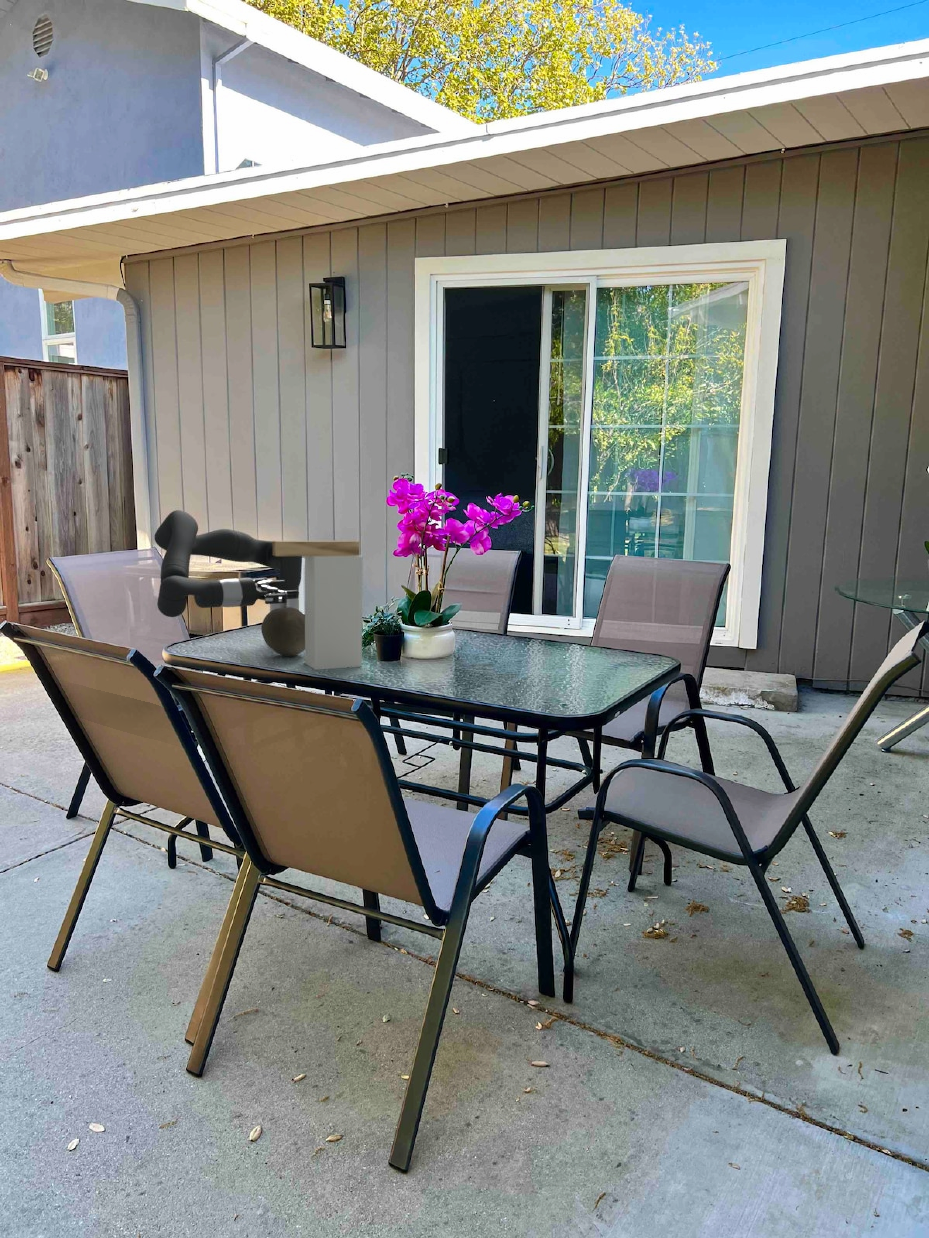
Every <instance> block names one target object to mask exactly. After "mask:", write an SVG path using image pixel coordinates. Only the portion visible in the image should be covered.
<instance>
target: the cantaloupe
mask: <svg viewBox="0 0 929 1238" xmlns="http://www.w3.org/2000/svg"><path fill="white" fill-rule="evenodd" d="M260 627H261V634H262V638H263V641H264V643H266V645H267V646H268V647H269V648H270V649H271V650H272V651H274V652H275V653H277V654H279V655H280V656H284V657H295V656H298V655H300V654H302V653H303V652H305V613H303V612H302V611H301V610H300V609H299V610H298V609H295V608H292V607H288V608H277V609H274V610H272V611H271V612H270V611H269V612H268V613H267V614H266V615H265V616H264V619H263V620H262V623H261V625H260Z"/></svg>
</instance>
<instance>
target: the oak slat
mask: <svg viewBox="0 0 929 1238" xmlns="http://www.w3.org/2000/svg"><path fill="white" fill-rule="evenodd" d="M272 541H273V556H302V557H305V556H350V555H360V540H356V539H355V540H351V539H350V540H272Z"/></svg>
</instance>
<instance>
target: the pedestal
mask: <svg viewBox="0 0 929 1238" xmlns="http://www.w3.org/2000/svg"><path fill="white" fill-rule="evenodd" d="M363 558H364V557H363V555H360V554H359V555H350V556H304V616H305V650H304V663H305V664H306V665H307V666H309V667H310V668H311V669H313V670H314V671H315V670H318V671H319V670H332V669H345V668H346V669H348V668H347V667H349V668H361V667H362V666H363V573H364V572H363V569H364V568H363Z"/></svg>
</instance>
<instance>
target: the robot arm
mask: <svg viewBox="0 0 929 1238" xmlns="http://www.w3.org/2000/svg"><path fill="white" fill-rule="evenodd" d="M155 531H156V532H154V533H155V534H154V536H153V538H154V541H155V543H156V545H157V546H158V547H160V548H161V549H162V550H164V551H165V553H164V555H163V559H162V561H161V567H160V585H159V590H158V598H157V605H156V606H157V610H159V611H160V614H162V616H163V615H164V616H166V617H168V618H175V617H179V616H181V615H182V614H183V613H184V612H185V610H186V608H187V603H188V597H189V596H194V597H193V598H194V602H195V604H196V606H197V607H198V608H200V609H201V608H202V609H207V608H236V607H240V608H241V607H251V606H253V605H254V606H255V604H256V602H257V601H258V600H261V601H264V604H265V605H269V612H271V611H272V610H274V609H277V608H288V607H292V608H295V609H298V610H299V611H300V609H299V608H300V592H299V590H300V589H299V588H300V585H301V581H302V567H303V566H302V565H303V556H273V541H274V540H263V539H257V538H254V537H252V536H251V535H249V534H247V533H246V532H242V531H239V530H234V529H229V528H222V529H221V528H220V529H216V530H212V531H209V532H205V533H201V534H198V532H199V525H198V522H197V520H196V519H195V518H194V517H193V516H192V515H191V514H190V513H188V512H186V511H184V510H179V509H177V510H176V509H175V510H173V511H171V512H170V513H169V514H167V516H166V517H165V519H163V521H162V523H161V524H160V525H159V526H158V528H157V529H156V530H155ZM191 556H201V557H203V556H205V557H209V558H215V559H221V560H225V561H230V562H235V563H236V562H237V563H238V562H239V563H255V564H259V565H261V566H265V567H268V568H270V569H273V570H276V571H277V570H278V571H279V576H278V578H277V579H275V580H273V579H268V577H258V578H256V577H255V578H251V577H239V578H238V577H237V578H223V579H217V580H199V579H194V578H189V575H190V561H191Z"/></svg>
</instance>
